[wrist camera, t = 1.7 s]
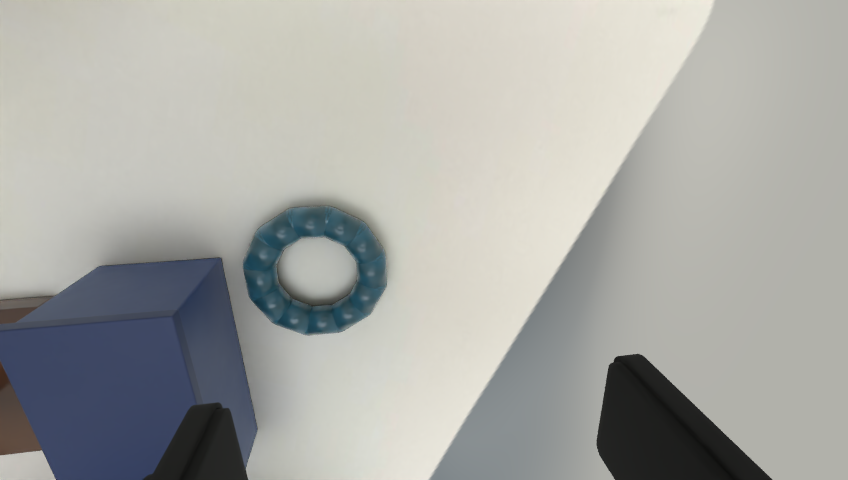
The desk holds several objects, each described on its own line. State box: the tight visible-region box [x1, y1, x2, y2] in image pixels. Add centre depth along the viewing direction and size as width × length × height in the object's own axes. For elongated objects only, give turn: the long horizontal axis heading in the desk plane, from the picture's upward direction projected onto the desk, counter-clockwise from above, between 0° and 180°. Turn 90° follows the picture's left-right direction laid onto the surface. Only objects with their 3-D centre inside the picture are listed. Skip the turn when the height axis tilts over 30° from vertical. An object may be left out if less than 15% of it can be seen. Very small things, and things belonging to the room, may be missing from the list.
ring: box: [243, 206, 387, 335], centre depth 22 cm, size 7×7×2 cm
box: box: [0, 258, 257, 480], centre depth 20 cm, size 12×6×6 cm, turn 1°
